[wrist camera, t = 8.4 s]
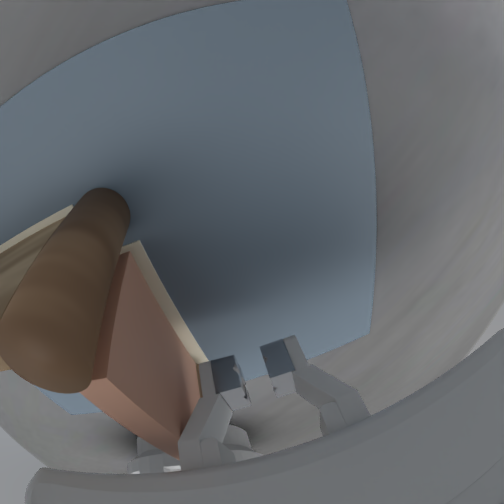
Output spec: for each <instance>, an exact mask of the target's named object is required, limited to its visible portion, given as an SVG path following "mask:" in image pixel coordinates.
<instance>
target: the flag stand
mask: <svg viewBox="0 0 504 504" xmlns="http://www.w3.org/2000/svg"><path fill="white" fill-rule="evenodd" d="M222 444H223V445H224V446H226V447H227V448H228V449H229V450H231V451H232V452H233V453H234V455H235V459H236V462H238V461H243V460H247V459H251V458H255V457H259V456H263V455H262V454H260V453H258V452H256V451H254V450H252V449H251V445H250V441H249V438H248V434H247V433H246V431H245V430H243V429H242V428H239V427H237V426H233V425H228V428H227V431H226V434H225V437H224V440H223V442H222ZM174 471H181V467H180V460H178V459H176V458H174V457H172V456H170V455H168V454H167V453H165V452H163V451H161V450H160V449H158V448H156V447H155V446H153V445H151V444H150V443H148V442H146V441H145V440H143V439H142V438H140V437H139V436H138V438H137V457H136V458H135V459H133V460H132V461H131V462H130V463H128V466H127V472H128V474H144V473H162V472H174Z"/></svg>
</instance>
